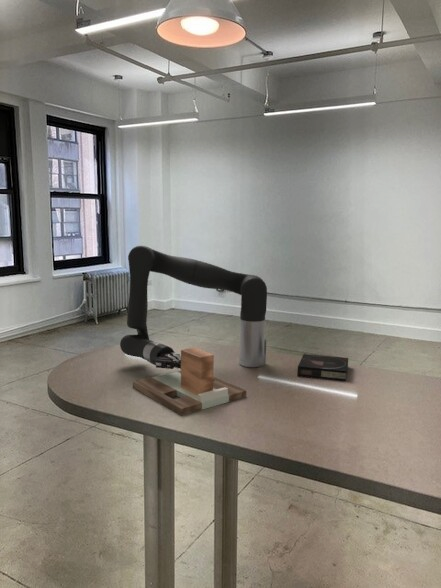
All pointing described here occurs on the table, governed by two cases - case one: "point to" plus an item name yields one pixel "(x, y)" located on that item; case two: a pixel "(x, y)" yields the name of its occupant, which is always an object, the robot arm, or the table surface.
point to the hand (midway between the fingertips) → (187, 367)
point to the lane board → (186, 393)
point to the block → (197, 370)
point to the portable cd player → (323, 367)
